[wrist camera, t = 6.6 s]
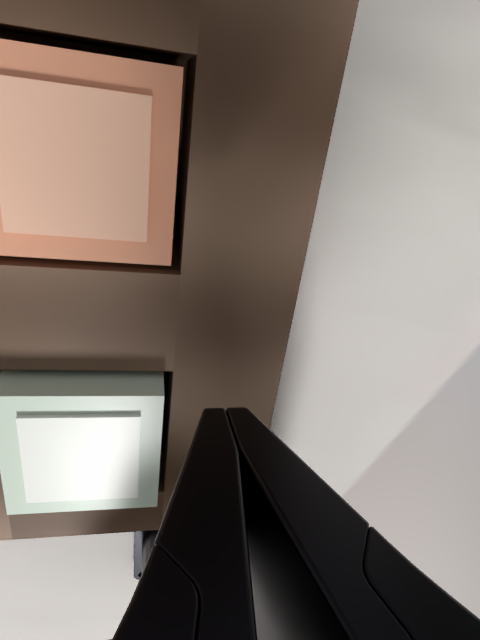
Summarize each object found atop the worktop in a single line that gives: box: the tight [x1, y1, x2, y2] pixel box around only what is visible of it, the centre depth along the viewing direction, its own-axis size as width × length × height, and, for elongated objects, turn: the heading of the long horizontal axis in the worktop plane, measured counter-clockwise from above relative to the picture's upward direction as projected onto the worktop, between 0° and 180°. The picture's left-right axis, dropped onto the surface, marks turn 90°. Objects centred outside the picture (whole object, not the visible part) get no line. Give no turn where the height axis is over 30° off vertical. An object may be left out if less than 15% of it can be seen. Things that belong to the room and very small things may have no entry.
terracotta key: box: [0, 39, 184, 266], centre depth 12 cm, size 5×5×4 cm
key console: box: [0, 0, 359, 540], centre depth 15 cm, size 19×13×5 cm
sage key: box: [0, 370, 164, 515], centre depth 16 cm, size 5×5×4 cm
